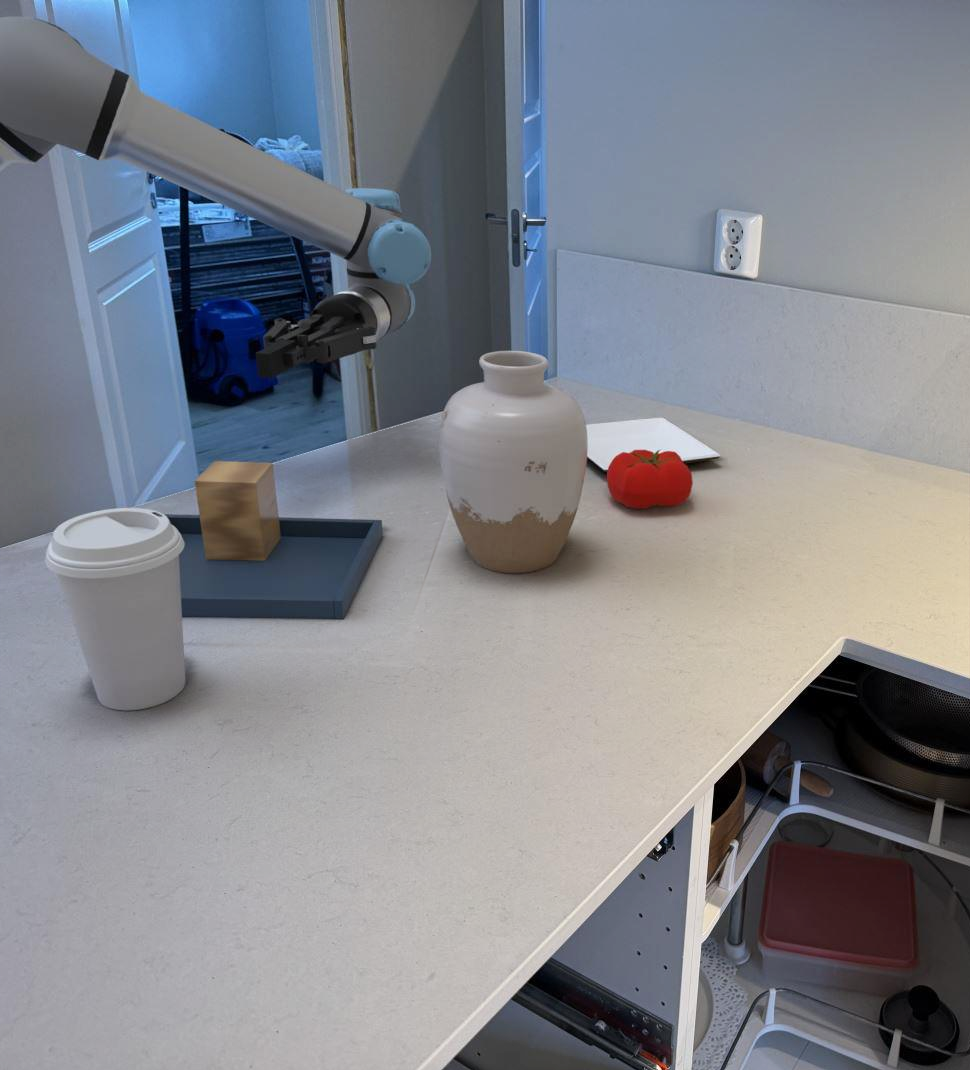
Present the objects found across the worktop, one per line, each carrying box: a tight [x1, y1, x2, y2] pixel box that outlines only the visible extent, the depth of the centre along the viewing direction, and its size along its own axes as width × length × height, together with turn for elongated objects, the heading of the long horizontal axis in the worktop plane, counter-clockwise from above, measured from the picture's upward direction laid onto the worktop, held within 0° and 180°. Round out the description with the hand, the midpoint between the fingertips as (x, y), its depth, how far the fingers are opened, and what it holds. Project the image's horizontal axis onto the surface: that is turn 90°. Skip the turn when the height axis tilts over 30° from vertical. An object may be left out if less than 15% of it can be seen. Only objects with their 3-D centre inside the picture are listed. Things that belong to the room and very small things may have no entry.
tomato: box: [606, 450, 694, 510], centre depth 129 cm, size 10×11×6 cm
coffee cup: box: [44, 507, 186, 711], centre depth 81 cm, size 10×10×15 cm
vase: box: [438, 350, 588, 574], centre depth 108 cm, size 16×16×23 cm
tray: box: [163, 513, 384, 620], centre depth 103 cm, size 24×20×2 cm
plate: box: [586, 417, 721, 473], centre depth 147 cm, size 19×19×2 cm
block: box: [194, 460, 281, 561], centre depth 106 cm, size 6×6×9 cm
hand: (263, 365), depth 108 cm, fingers closed
